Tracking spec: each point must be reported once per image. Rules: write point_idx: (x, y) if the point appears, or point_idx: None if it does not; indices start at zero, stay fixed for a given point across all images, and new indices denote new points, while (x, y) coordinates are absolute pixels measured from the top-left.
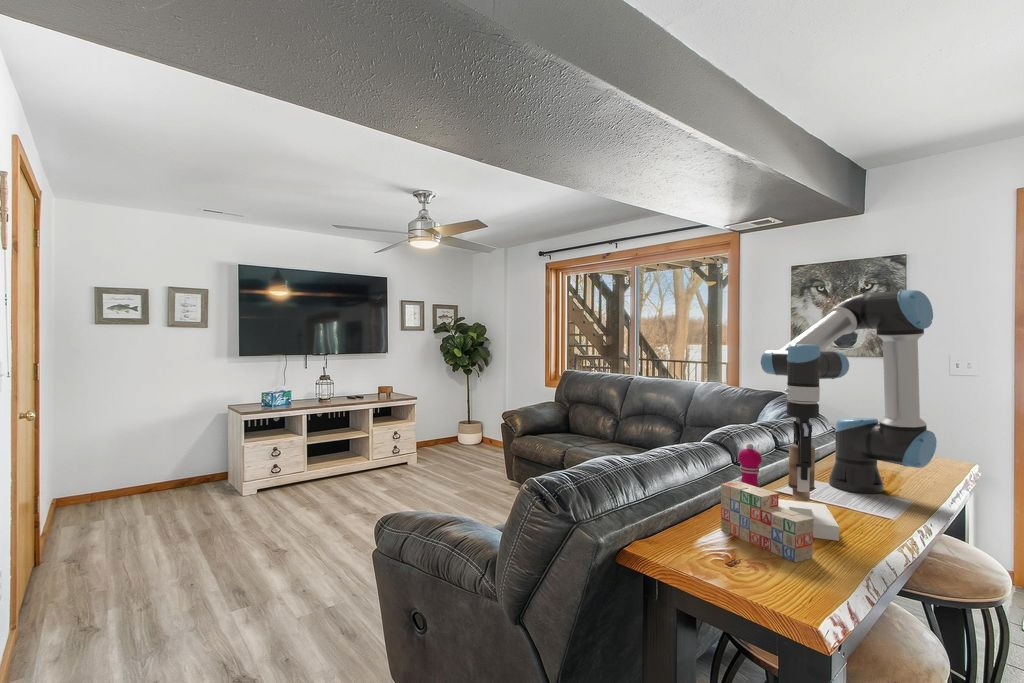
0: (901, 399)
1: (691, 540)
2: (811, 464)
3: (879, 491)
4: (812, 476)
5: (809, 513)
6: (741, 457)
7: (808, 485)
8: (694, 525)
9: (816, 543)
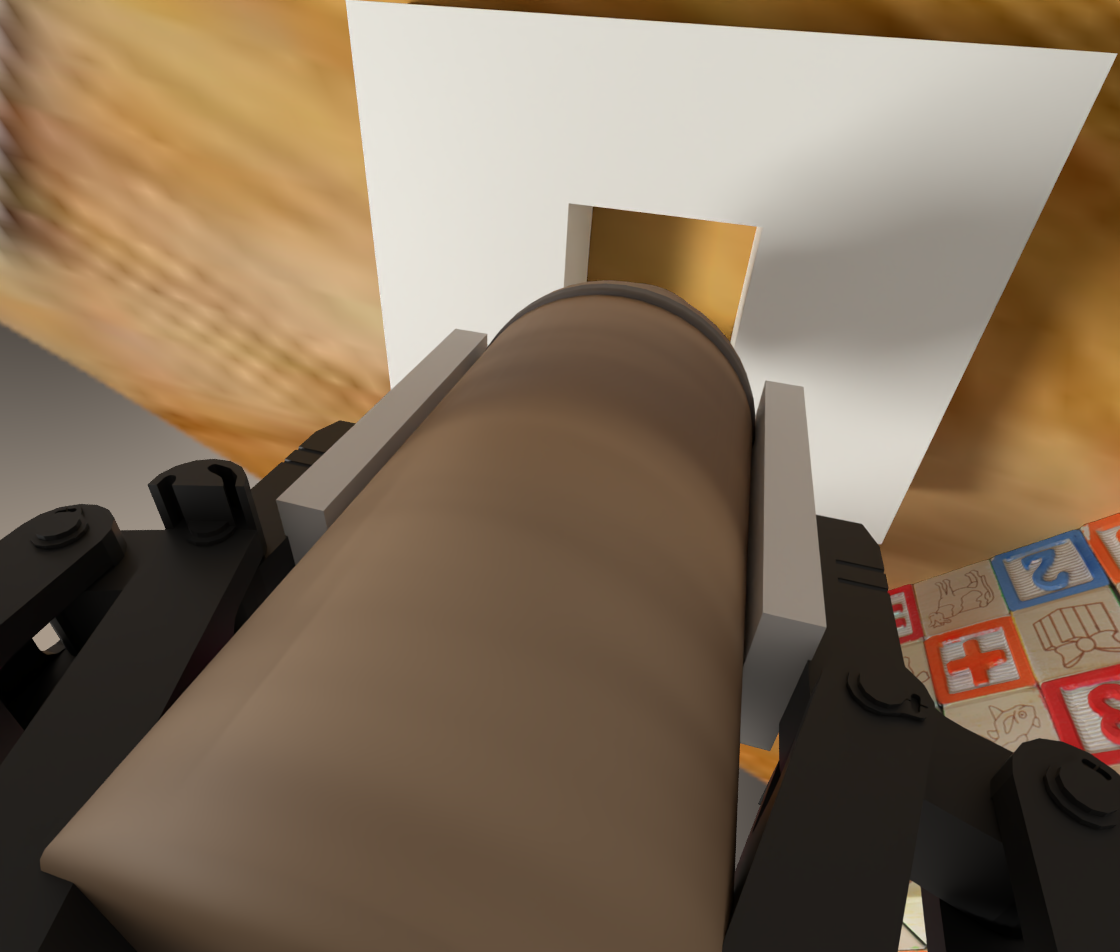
0: None
1: None
2: (1116, 805)
3: None
4: (708, 427)
5: (576, 208)
6: None
7: (804, 443)
8: None
9: (1105, 279)
